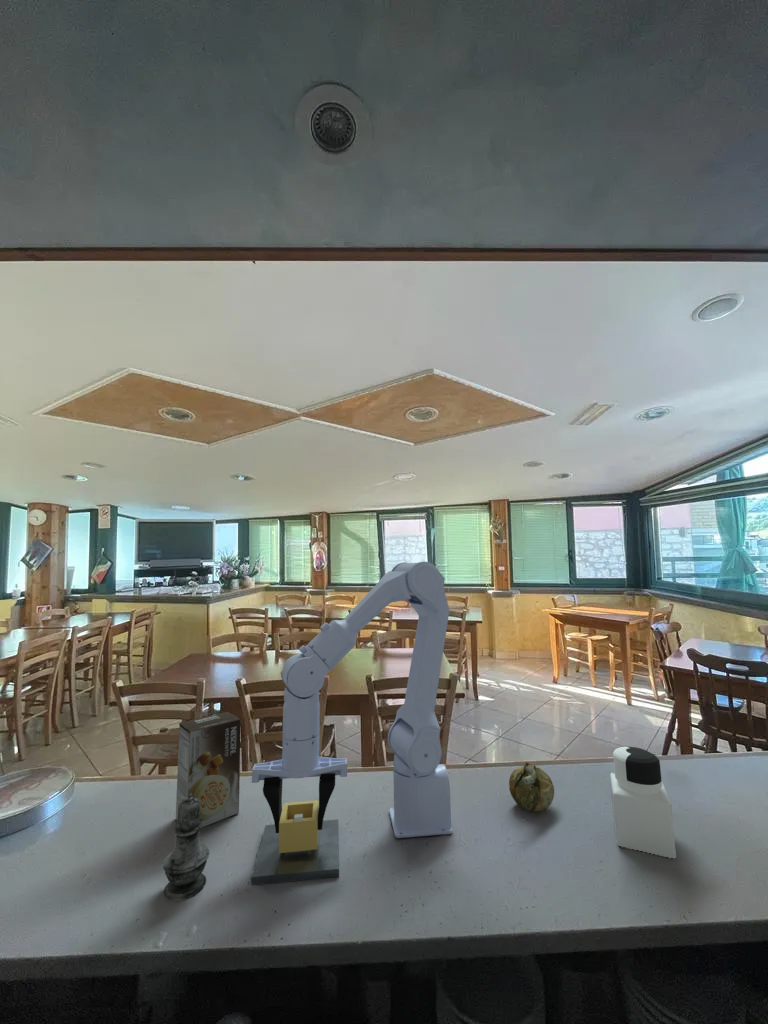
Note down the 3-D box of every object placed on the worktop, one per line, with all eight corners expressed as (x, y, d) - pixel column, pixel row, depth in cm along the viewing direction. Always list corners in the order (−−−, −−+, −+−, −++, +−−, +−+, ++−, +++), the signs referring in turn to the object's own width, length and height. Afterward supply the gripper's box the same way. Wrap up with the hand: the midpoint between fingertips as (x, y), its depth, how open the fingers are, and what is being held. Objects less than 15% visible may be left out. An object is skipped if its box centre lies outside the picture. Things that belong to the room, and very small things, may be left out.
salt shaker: (190, 906, 54) (195, 805, 56) (150, 899, 56) (156, 801, 57) (217, 874, 60) (220, 783, 62) (180, 868, 61) (185, 779, 63)
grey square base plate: (338, 825, 71) (338, 800, 72) (339, 876, 59) (339, 845, 60) (265, 831, 70) (266, 805, 70) (251, 885, 58) (252, 853, 58)
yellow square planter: (318, 826, 68) (318, 795, 69) (317, 849, 63) (317, 815, 63) (283, 830, 67) (283, 799, 68) (278, 853, 62) (279, 819, 63)
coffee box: (226, 799, 80) (229, 710, 82) (239, 813, 75) (242, 718, 77) (173, 818, 74) (178, 721, 76) (185, 835, 69) (190, 731, 71)
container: (667, 831, 69) (659, 746, 70) (677, 861, 62) (668, 766, 64) (613, 820, 72) (607, 739, 74) (617, 847, 65) (610, 757, 67)
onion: (565, 815, 73) (562, 766, 75) (525, 822, 72) (522, 772, 73) (539, 793, 81) (537, 748, 82) (502, 799, 79) (500, 753, 80)
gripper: (346, 722, 72) (346, 809, 70) (258, 727, 70) (256, 816, 68) (347, 739, 65) (347, 835, 63) (250, 744, 63) (247, 844, 61)
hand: (299, 827), depth 65 cm, fingers closed on yellow square planter, 6 cm apart
